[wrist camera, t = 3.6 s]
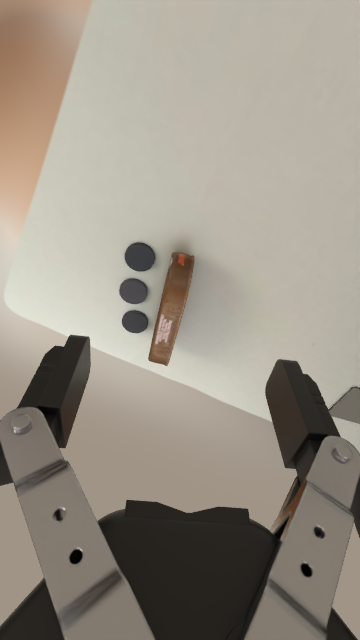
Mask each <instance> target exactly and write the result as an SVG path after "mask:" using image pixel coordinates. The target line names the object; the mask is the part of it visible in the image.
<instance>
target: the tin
mask: <svg viewBox="0 0 360 640" xmlns="http://www.w3.org/2000/svg"><path fill="white" fill-rule="evenodd" d="M193 265H194V256H189V255H185V254H181V253H173V254H172V256H171V260H170V265H169V269H168V274H167V278H166V282H165V286H164V290H163V294H162V299H161V304H160V308H159V312H158V316H157V320H156V325H155V329H154V334H153V338H152V343H151V348H150V353H149V358H148V359H149V361H151V362H155V363H159V364H164V365H165V366H167V365H168V363H169V360H170V357H171V353H172V350H173V346H174V343H175V339H176V335H177V332H178V328H179V325H180V321H181V318H182V314H183V311H184V307H185V303H186V299H187V295H188V291H189V287H190V283H191V277H192V272H193Z"/></svg>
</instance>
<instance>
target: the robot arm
mask: <svg viewBox="0 0 360 640" xmlns="http://www.w3.org/2000/svg"><path fill="white" fill-rule="evenodd" d="M90 364H91V362H90V338H89V337H86V336H78V335H70V336H69V338H68V340H67V342H66V344H65V346H64V347H62V346H54V347H53V348H52V349H51V350H50V351H48V352H47V353H46V354H45V356H44V357H43V359H42V361H41V363H40V366H39V367H38V369H37V371H36V374H35V375H34V377H33V379H32V381H31V383H30V385H29V386H28V389H27V391H26V392H25V394H24V396H23V398H22V400H21V402H20V404H19V406H18V407H17V408H16V409H15V410H12V411H10V412H9V413H7V414H6V415H5V416H4V417H3V418H2V419H1V420H0V486H1V485H5V484H9V483H14V486H15V489H16V492H17V495H18V498H19V502H20V505H21V508H22V511H23V514H24V517H25V520H26V523H27V526H28V529H29V532H30V535H31V538H32V541H33V544H34V547H35V550H36V554H37V557H38V560H39V562H40V566H41V568H42V572H43V575H44V578H43V579H42V581H41V582H40V583H39V584H38V585H37V586H36V587H35V588H34V590H33V591H32V592H31V593H30V594H29V595H28V596H27V597H26V598H25V599H24V601H23V602H22V603H21V604H20V605H19V606H18V607H17V608H16V609H15V611H14V612H13V613H12V614H11V615H10V616H9V617H8V618H7V619H6V621H5V622H4V623H3V624H2V625H1V626H0V640H358V639H357V638H356V637H355V636H354V634H353V633H352V632H351V631H350V629H349V628H348V627H347V625H346V624H345V623H344V622H343V620H342V619H341V618H340V617H339V615H338V614H337V613H336V612H335V610H334V609H333V608H332V604H333V600H334V596H335V592H336V588H337V584H338V581H339V576H340V573H341V569H342V565H343V561H344V558H345V554H346V550H347V546H348V542H349V539H350V535H351V531H352V527H353V523H355V526H356V529H357V531H358V534H359V537H360V453H359V452H358V450H357V449H356V448H355V447H354V446H353V445H352V444H351V443H350V442H348V441H347V440H345V439H343V438H341V437H340V434H339V432H338V430H337V428H336V426H335V423H334V421H333V419H332V417H331V415H330V412H329V410H328V408H327V406H326V405H325V402H324V399H323V397H321V393H320V391H319V388H318V386H317V384H316V383H315V382H314V381H313V380H312V379H311V377H310V376H309V375H308V374H303V373H302V370H301V368H300V366H299V364H298V362H297V361H290V360H282V359H279V360H277V362H276V364H275V366H274V368H273V370H272V373H271V375H270V377H269V379H268V381H267V384H266V390H265V393H266V399H267V403H268V406H269V410H270V414H271V418H272V421H273V425H274V429H275V432H276V435H277V439H278V443H279V447H280V451H281V454H282V458H283V461H284V465H285V468H292V469H296V471H297V477H296V478H295V480H294V482H293V485H292V487H291V489H290V491H289V493H288V495H287V497H286V500H285V502H284V504H283V506H282V508H281V510H280V512H279V515H278V517H277V518H276V520H275V522H274V524H273V525H272V527H271V529H270V530H268V529H267V528H265V527H264V526H262V525H261V524H259V523H257V522H256V521H254V520H251V519H249V512H248V509H242V508H230V507H215V508H211V509H206V510H202V511H198V512H193V513H185V512H183V511H180V510H177V509H174V508H172V507H169V506H166V505H163V504H161V503H158V502H148V501H134V500H127V501H126V508H125V509H123V510H118V511H115V512H113V513H111V514H108V515H106V516H105V517H103V518H101V519H100V520H98V521H97V520H96V518H95V516H94V514H93V512H92V510H91V508H90V505H89V503H88V501H87V499H86V497H85V495H84V493H83V491H82V489H81V486H80V484H79V482H78V480H77V478H76V476H75V474H74V471H73V469H72V467H71V466H70V464H69V462H68V461H65V460H64V458H63V456H62V454H61V451H60V449H59V448H66V445H67V442H68V439H69V435H70V433H71V429H72V426H73V423H74V420H75V417H76V414H77V411H78V408H79V405H80V402H81V399H82V396H83V393H84V389H85V387H86V384H87V380H88V377H89V373H90Z"/></svg>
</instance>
